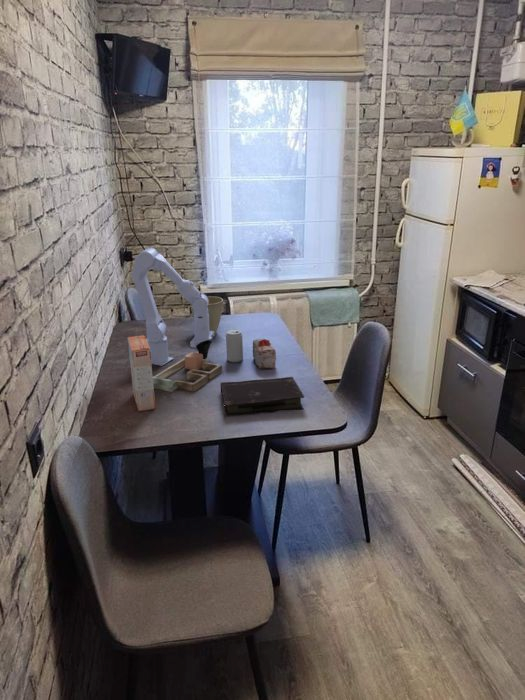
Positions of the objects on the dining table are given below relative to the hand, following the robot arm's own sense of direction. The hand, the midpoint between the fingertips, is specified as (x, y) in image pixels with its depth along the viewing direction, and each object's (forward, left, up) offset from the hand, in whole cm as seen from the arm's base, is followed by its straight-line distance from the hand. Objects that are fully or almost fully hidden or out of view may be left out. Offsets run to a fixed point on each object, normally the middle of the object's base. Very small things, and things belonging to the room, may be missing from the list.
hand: (203, 358), depth 194 cm
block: (0, -7, -1) cm, 7 cm away
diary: (+36, -22, -2) cm, 43 cm away
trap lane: (+4, -16, -1) cm, 17 cm away
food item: (+23, +7, -1) cm, 24 cm away
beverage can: (+11, +6, -1) cm, 12 cm away
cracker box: (+1, -38, -1) cm, 38 cm away
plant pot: (-16, +30, -1) cm, 34 cm away
